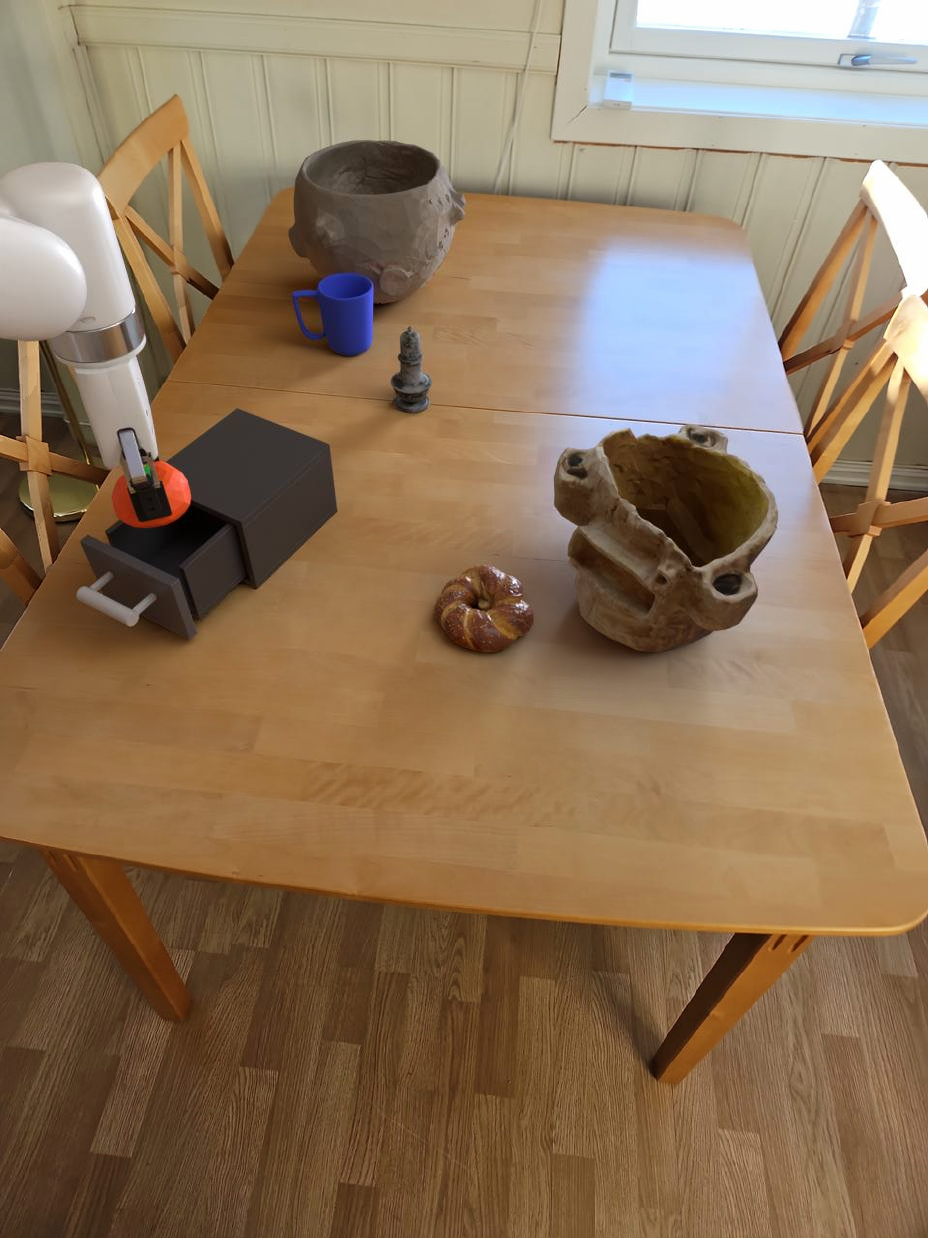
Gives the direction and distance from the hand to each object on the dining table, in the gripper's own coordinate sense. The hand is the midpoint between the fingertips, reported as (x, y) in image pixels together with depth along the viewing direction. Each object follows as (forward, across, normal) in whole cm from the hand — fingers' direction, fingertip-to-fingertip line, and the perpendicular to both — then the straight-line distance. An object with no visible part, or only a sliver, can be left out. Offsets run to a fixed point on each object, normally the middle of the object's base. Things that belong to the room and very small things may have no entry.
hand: (150, 491), depth 82 cm
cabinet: (+15, -8, +10) cm, 19 cm away
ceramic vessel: (+15, +22, +49) cm, 56 cm away
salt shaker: (+15, -27, +37) cm, 48 cm away
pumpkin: (+3, 0, 0) cm, 3 cm away
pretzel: (+15, +15, +31) cm, 37 cm away
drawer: (+14, 0, 0) cm, 14 cm away
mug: (+15, -45, +31) cm, 56 cm away
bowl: (+15, -61, +43) cm, 76 cm away
